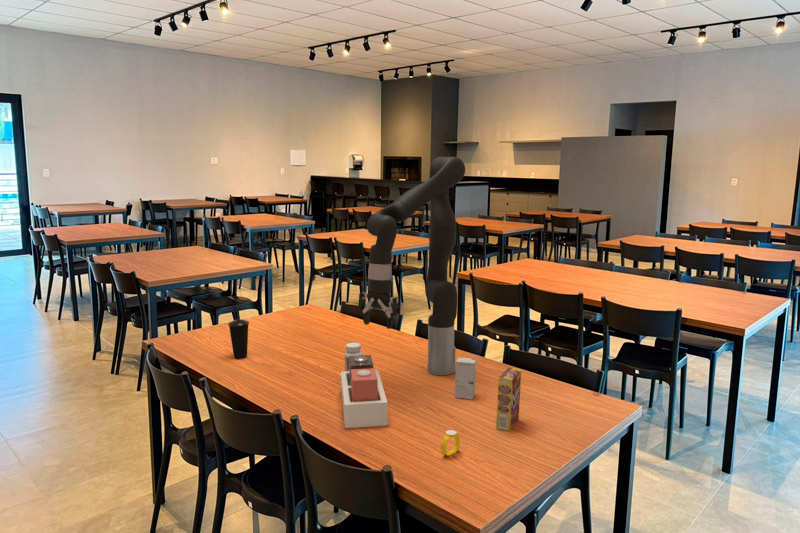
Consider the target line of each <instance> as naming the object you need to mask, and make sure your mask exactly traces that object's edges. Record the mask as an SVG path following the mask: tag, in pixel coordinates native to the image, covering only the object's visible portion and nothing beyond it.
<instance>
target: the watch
mask: <svg viewBox="0 0 800 533" xmlns="http://www.w3.org/2000/svg"><path fill="white" fill-rule="evenodd" d="M450 438H455V439H454V440H455V441H454V445H453V447H452V449H451V450H449V451H447V445H448V441H449V439H450ZM460 444H461V437H460V435H459V434H458V432H457V431H455V430H452V429H448V430H446V431H445V435H444V437H443V438H442V441H441V444H440V445H441V446H440V447H441V448H440V449H441V453H442V454H443V455H444V456H446V457H448V456H449V457H450V455H451V456H453V455H454V454H456V453H457V452H458V450H459V448H460Z"/></svg>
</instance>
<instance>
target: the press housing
mask: <svg viewBox="0 0 800 533" xmlns="http://www.w3.org/2000/svg"><path fill="white" fill-rule="evenodd" d="M375 372H376V376H377V379H378V401H363V402H353V400H352V393H351V386H350V380H349V371H345V370H344V371H340V390H341V402H342V414H343V421H344V429H357V428H373V427H386V426H389V424H388V420H389V419H388V412H389V411H388V400H387V397H386V392H385V390H384V385H383V383H382V378H381V375H380V372H379V370H378V369H375Z"/></svg>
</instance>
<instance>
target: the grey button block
mask: <svg viewBox="0 0 800 533" xmlns="http://www.w3.org/2000/svg"><path fill="white" fill-rule="evenodd" d="M370 368H374V362H373V359H372V356H371V354H364V355H363V354H362V355H359V356H349V380H350V386H351V369H370Z"/></svg>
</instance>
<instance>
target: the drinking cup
mask: <svg viewBox="0 0 800 533" xmlns="http://www.w3.org/2000/svg"><path fill="white" fill-rule="evenodd" d="M239 307H240V306H236V313H237V314H236V317H237V319H233V320H231V321H229V322H228V324H227V325H228V327H229V334H230V342H231V346H232V347H231V348H232V354H233V359H235V360H242V359H243V360H244V359H246V358H248V341H249V340H248V338H249V324H250V322H249V321H248V320H245V319H241V318H240V308H239Z"/></svg>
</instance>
